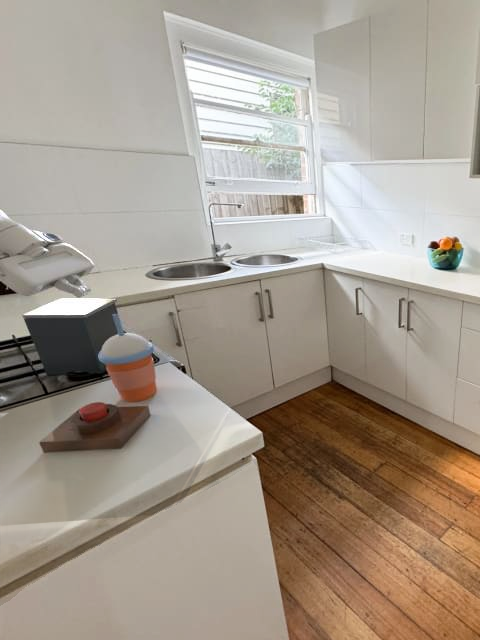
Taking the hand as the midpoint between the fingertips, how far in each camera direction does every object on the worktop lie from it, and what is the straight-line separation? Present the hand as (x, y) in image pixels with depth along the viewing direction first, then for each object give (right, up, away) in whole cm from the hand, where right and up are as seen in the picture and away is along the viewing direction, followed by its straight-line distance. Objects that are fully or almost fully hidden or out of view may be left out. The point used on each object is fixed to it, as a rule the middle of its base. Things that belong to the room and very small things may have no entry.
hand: (85, 294), depth 86 cm
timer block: (+18, -27, -18) cm, 37 cm away
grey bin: (-4, -16, +6) cm, 18 cm away
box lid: (-3, -3, +1) cm, 5 cm away
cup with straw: (+17, -22, -6) cm, 28 cm away
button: (+18, -24, -19) cm, 36 cm away
